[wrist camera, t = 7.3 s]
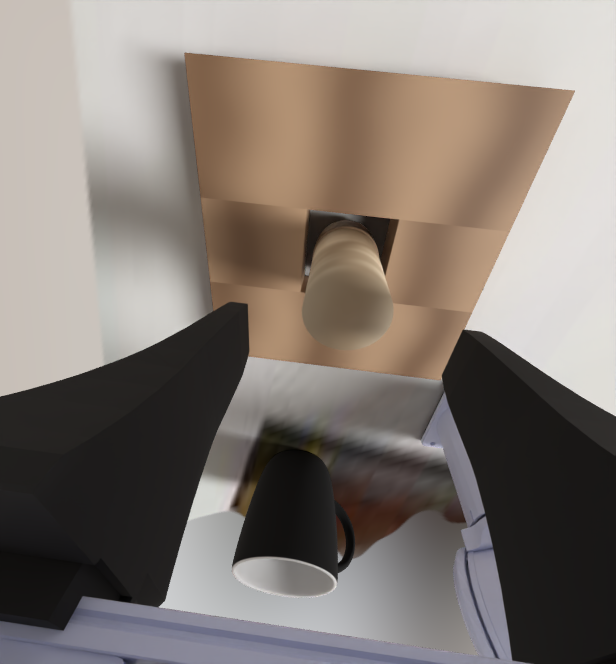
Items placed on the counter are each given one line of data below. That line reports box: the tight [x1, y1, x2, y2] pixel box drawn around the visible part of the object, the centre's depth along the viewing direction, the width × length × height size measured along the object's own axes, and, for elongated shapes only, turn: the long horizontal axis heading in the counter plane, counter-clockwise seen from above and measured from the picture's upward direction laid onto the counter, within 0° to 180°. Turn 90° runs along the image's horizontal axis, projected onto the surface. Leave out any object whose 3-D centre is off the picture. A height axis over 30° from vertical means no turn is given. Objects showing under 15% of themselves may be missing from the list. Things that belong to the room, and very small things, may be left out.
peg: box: [302, 220, 394, 350], centre depth 15 cm, size 4×4×8 cm
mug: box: [232, 450, 355, 598], centre depth 29 cm, size 12×9×10 cm
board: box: [184, 53, 575, 380], centre depth 18 cm, size 16×16×2 cm
